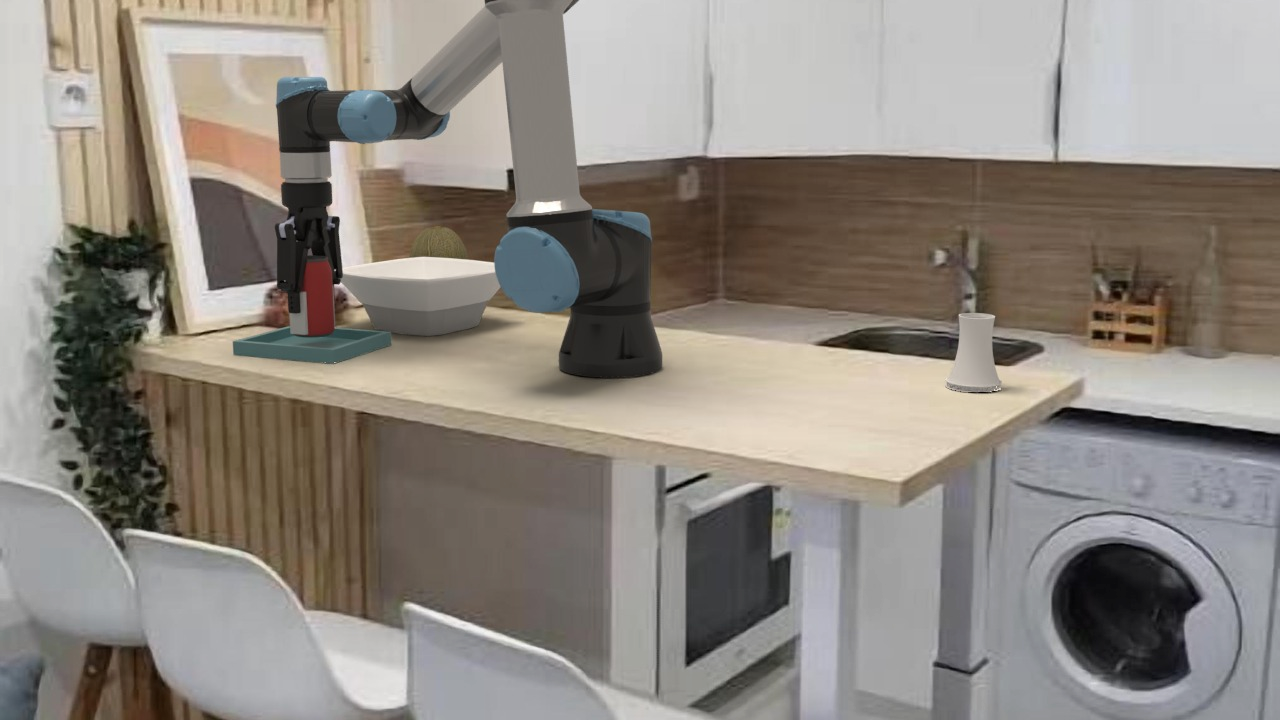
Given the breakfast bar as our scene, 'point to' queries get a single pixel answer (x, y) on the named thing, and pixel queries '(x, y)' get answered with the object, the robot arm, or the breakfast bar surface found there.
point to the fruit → (438, 244)
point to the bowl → (423, 293)
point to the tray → (312, 345)
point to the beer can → (318, 297)
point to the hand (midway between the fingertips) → (313, 329)
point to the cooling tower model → (974, 356)
